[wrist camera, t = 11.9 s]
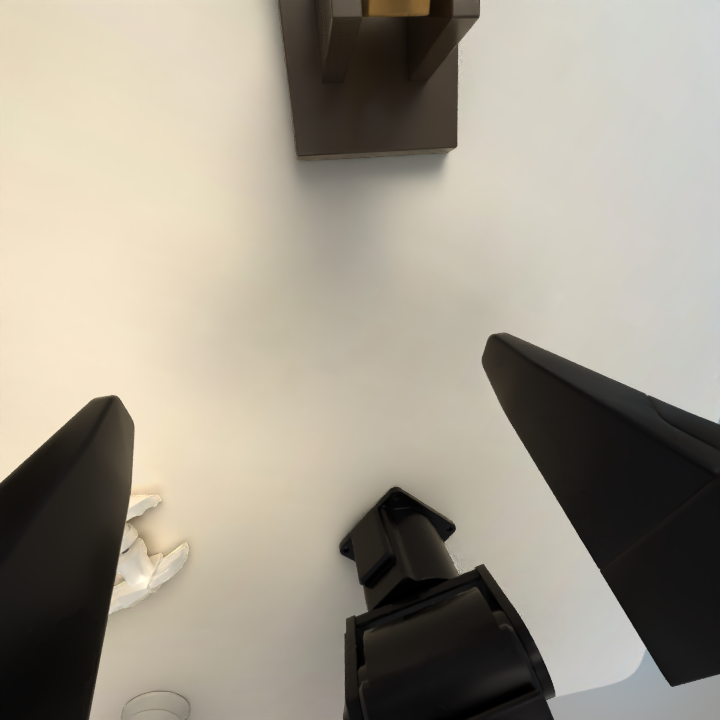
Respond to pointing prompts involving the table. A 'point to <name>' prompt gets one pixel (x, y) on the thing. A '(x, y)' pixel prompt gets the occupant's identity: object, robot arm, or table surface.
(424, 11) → the lever
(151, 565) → the door handle
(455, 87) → the bracket
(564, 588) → the table surface
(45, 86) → the table surface
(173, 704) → the chalice
